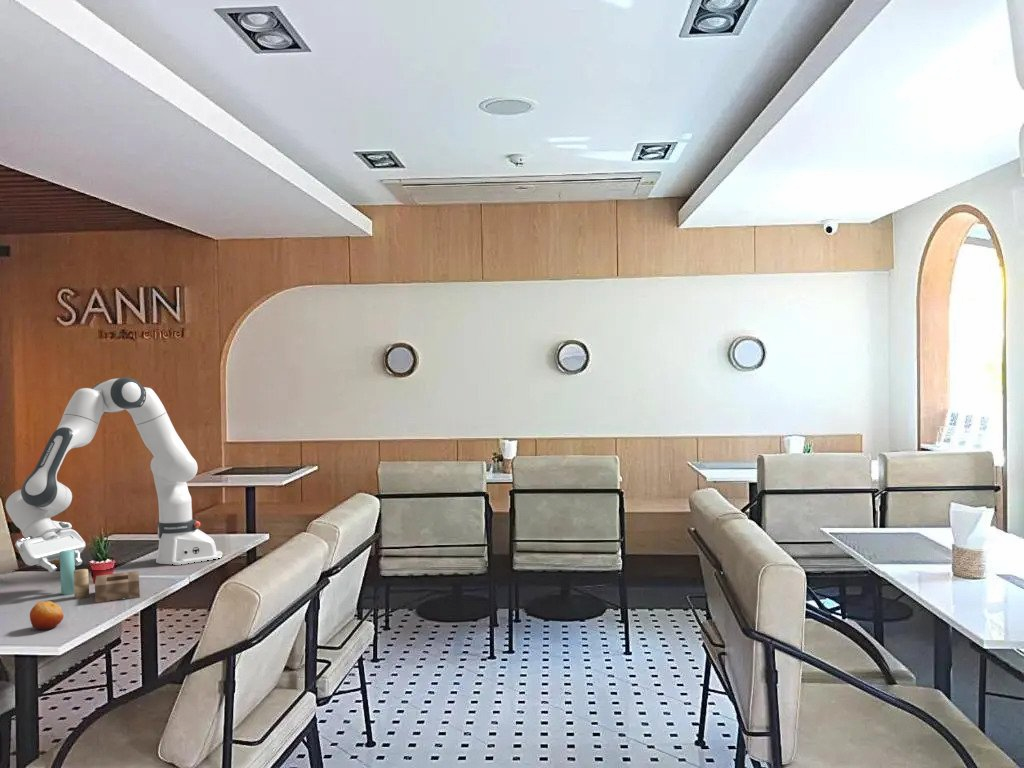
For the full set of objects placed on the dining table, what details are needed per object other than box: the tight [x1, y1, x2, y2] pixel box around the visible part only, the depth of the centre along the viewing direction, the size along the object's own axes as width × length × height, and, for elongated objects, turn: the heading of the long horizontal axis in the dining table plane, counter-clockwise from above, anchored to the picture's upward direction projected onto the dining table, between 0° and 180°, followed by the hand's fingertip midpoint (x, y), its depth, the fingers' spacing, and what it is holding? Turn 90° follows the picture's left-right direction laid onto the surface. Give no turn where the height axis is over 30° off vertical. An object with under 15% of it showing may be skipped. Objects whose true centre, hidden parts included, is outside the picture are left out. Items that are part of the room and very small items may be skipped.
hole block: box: [94, 570, 141, 604], centre depth 267 cm, size 12×14×5 cm
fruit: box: [29, 600, 64, 630], centre depth 234 cm, size 8×8×8 cm
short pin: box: [74, 568, 90, 599], centre depth 266 cm, size 4×4×8 cm
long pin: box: [59, 550, 76, 596], centre depth 271 cm, size 4×4×13 cm
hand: (66, 567), depth 271 cm, fingers open, 8 cm apart
